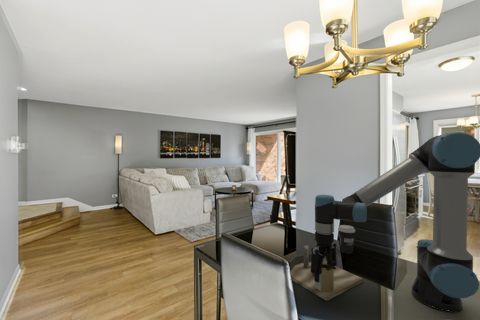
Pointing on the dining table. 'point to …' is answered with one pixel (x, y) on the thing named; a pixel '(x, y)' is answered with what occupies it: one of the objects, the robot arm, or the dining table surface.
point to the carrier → (305, 277)
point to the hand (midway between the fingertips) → (324, 286)
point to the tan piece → (327, 277)
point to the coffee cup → (346, 238)
